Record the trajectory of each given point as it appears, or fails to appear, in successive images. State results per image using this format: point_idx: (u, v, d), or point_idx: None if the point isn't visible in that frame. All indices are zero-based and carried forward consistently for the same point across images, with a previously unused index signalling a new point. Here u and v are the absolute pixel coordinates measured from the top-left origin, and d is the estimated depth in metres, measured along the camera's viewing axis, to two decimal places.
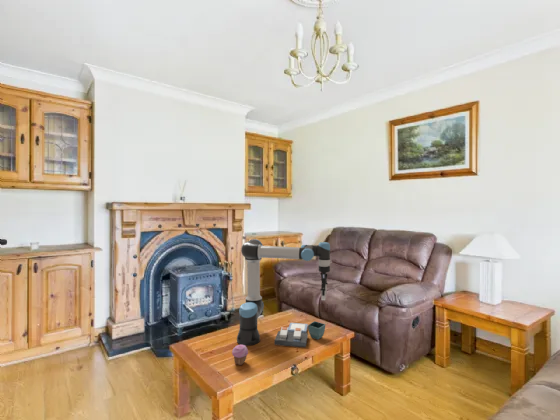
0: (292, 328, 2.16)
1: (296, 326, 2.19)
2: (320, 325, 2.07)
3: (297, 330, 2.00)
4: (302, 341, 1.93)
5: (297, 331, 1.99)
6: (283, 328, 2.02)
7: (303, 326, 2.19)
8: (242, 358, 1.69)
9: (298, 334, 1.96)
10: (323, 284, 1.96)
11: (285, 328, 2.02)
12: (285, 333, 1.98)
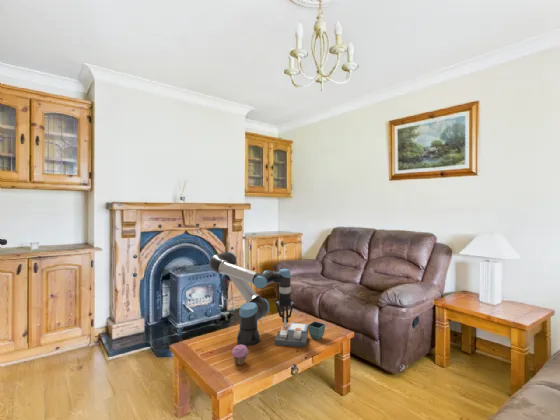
0: (292, 328, 2.16)
1: (296, 326, 2.19)
2: (320, 325, 2.07)
3: (297, 330, 2.00)
4: (302, 341, 1.93)
5: (297, 331, 1.99)
6: (283, 328, 2.02)
7: (303, 326, 2.19)
8: (242, 358, 1.69)
9: (298, 334, 1.96)
10: None
11: (285, 328, 2.02)
12: (285, 333, 1.98)
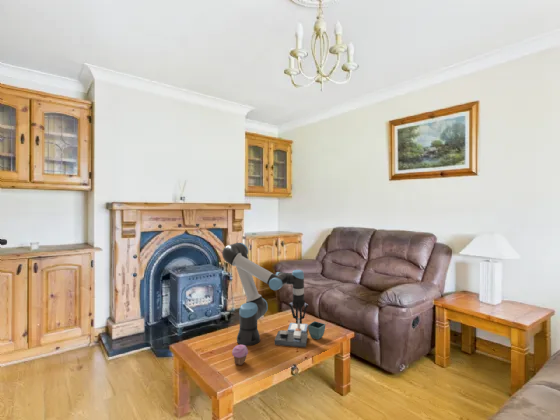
0: (292, 328, 2.16)
1: (296, 326, 2.19)
2: (320, 325, 2.07)
3: (297, 330, 2.00)
4: (302, 341, 1.93)
5: (297, 331, 1.99)
6: (283, 330, 2.03)
7: (303, 326, 2.19)
8: (242, 358, 1.69)
9: (298, 334, 1.96)
10: None
11: (285, 330, 2.03)
12: (285, 330, 1.98)
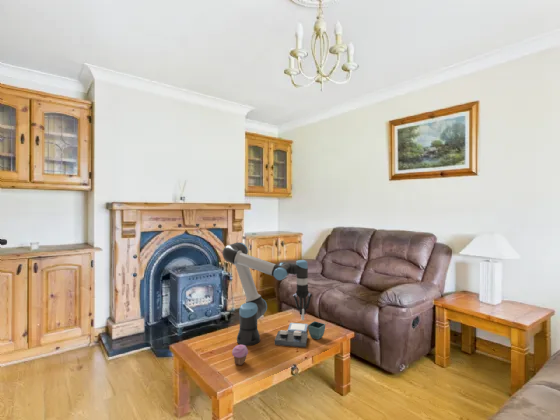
0: (292, 328, 2.16)
1: (296, 326, 2.19)
2: (320, 325, 2.07)
3: (297, 331, 2.00)
4: (302, 341, 1.93)
5: (297, 331, 2.00)
6: (283, 330, 2.03)
7: (303, 326, 2.19)
8: (242, 358, 1.69)
9: (298, 332, 1.97)
10: (296, 303, 2.01)
11: (285, 330, 2.03)
12: (285, 330, 1.98)
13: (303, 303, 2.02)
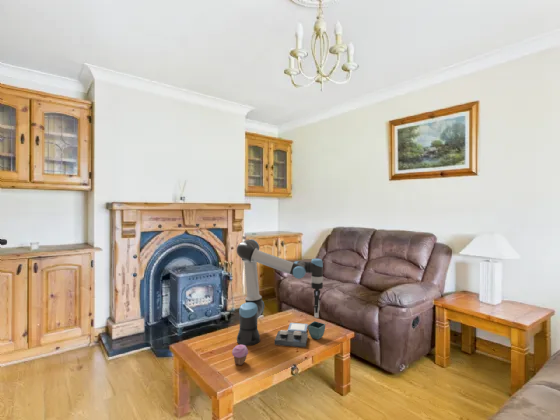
0: (292, 328, 2.16)
1: (296, 326, 2.19)
2: (320, 325, 2.07)
3: (297, 331, 2.00)
4: (302, 341, 1.93)
5: (297, 331, 2.00)
6: (283, 330, 2.03)
7: (303, 326, 2.19)
8: (242, 358, 1.69)
9: (298, 331, 1.97)
10: (316, 301, 1.95)
11: (285, 330, 2.03)
12: (285, 331, 1.98)
13: None
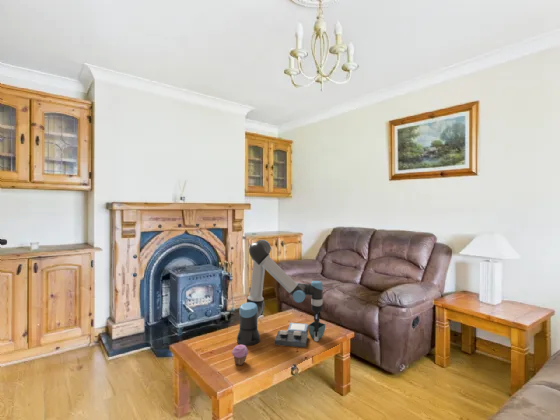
0: (292, 328, 2.16)
1: (296, 326, 2.19)
2: (320, 325, 2.07)
3: (297, 331, 2.00)
4: (302, 341, 1.93)
5: (297, 331, 2.00)
6: (283, 330, 2.03)
7: (303, 326, 2.19)
8: (242, 358, 1.69)
9: (298, 331, 1.97)
10: (316, 325, 1.97)
11: (285, 330, 2.03)
12: (285, 331, 1.98)
13: None
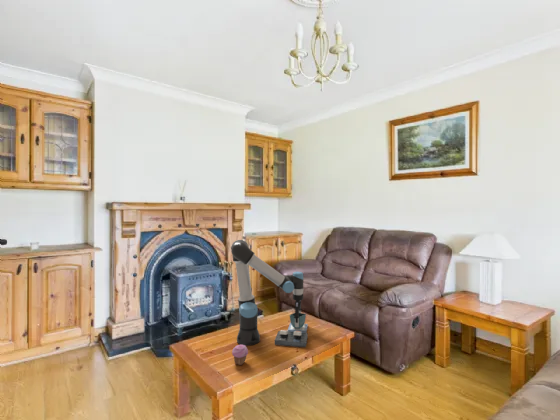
0: (292, 328, 2.16)
1: None
2: (301, 315, 2.20)
3: (297, 331, 2.00)
4: (302, 341, 1.93)
5: (297, 331, 2.00)
6: (283, 330, 2.03)
7: (303, 326, 2.19)
8: (242, 358, 1.69)
9: (298, 331, 1.97)
10: (296, 312, 2.10)
11: (285, 330, 2.03)
12: (285, 331, 1.98)
13: None
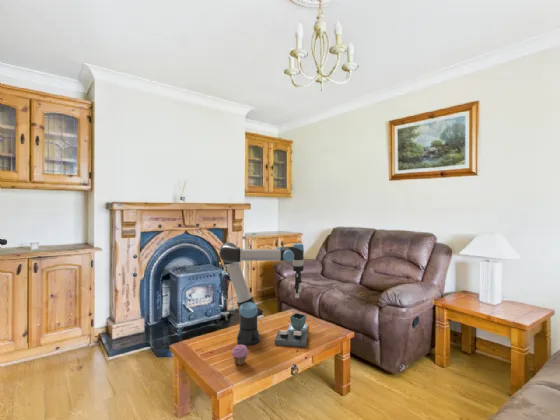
0: (292, 328, 2.16)
1: None
2: (301, 316, 2.19)
3: (297, 331, 2.00)
4: (302, 341, 1.93)
5: (297, 331, 2.00)
6: (283, 330, 2.03)
7: None
8: (242, 358, 1.69)
9: (298, 331, 1.97)
10: (296, 282, 2.09)
11: (285, 330, 2.03)
12: (285, 331, 1.98)
13: (298, 280, 2.23)
